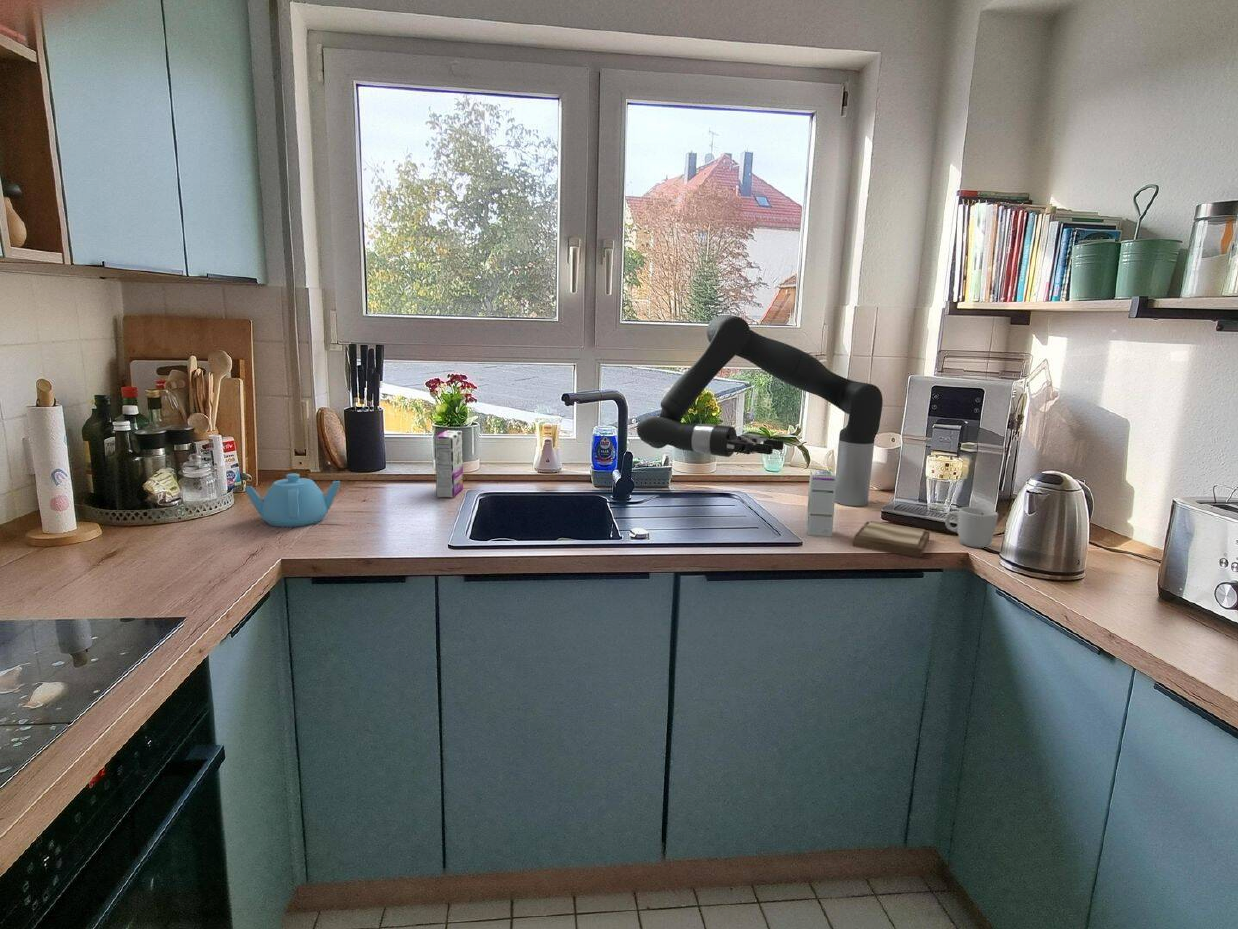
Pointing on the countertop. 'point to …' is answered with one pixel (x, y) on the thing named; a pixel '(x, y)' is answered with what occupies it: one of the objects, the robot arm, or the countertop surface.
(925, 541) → the riser
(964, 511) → the cup
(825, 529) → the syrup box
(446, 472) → the candy bar box
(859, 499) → the robot arm
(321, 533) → the countertop surface
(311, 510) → the teapot
